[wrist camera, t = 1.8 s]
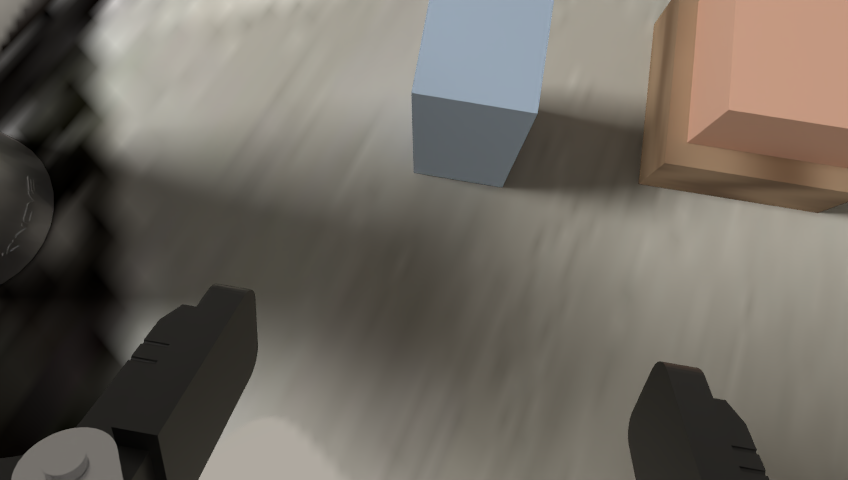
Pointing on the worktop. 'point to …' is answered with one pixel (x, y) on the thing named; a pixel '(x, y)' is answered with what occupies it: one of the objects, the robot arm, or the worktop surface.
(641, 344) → the worktop surface
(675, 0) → the walnut base block
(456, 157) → the slate blue block
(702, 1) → the terracotta top block
